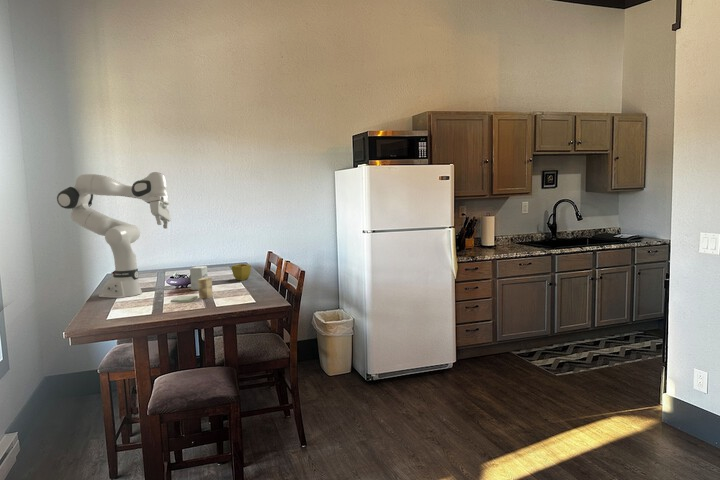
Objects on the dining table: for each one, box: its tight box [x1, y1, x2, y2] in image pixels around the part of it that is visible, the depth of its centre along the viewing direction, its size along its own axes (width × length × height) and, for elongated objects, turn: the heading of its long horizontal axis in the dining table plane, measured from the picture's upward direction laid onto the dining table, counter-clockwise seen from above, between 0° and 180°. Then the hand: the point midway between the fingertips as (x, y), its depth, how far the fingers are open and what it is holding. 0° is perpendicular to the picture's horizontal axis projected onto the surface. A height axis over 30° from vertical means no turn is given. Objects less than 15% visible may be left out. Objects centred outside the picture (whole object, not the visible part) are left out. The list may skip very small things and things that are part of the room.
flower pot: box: [231, 263, 252, 281], centre depth 335 cm, size 9×9×9 cm
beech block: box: [198, 277, 214, 300], centre depth 287 cm, size 5×5×10 cm
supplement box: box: [189, 265, 209, 291], centre depth 312 cm, size 7×7×13 cm
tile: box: [170, 295, 199, 303], centre depth 284 cm, size 10×10×1 cm
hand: (162, 226), depth 288 cm, fingers open, 8 cm apart
